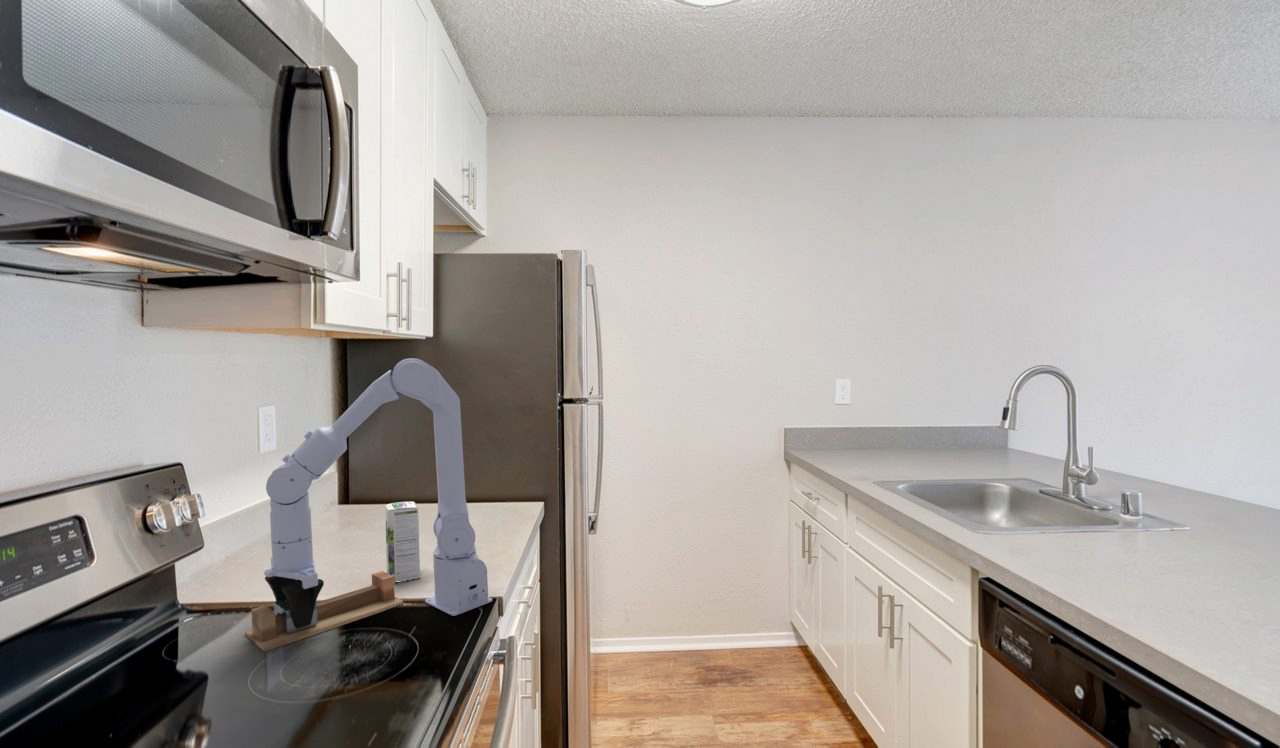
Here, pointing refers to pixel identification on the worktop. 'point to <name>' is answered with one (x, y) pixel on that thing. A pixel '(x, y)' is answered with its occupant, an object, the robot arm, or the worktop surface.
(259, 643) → the rail
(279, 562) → the robot arm
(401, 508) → the syrup box
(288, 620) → the slider
